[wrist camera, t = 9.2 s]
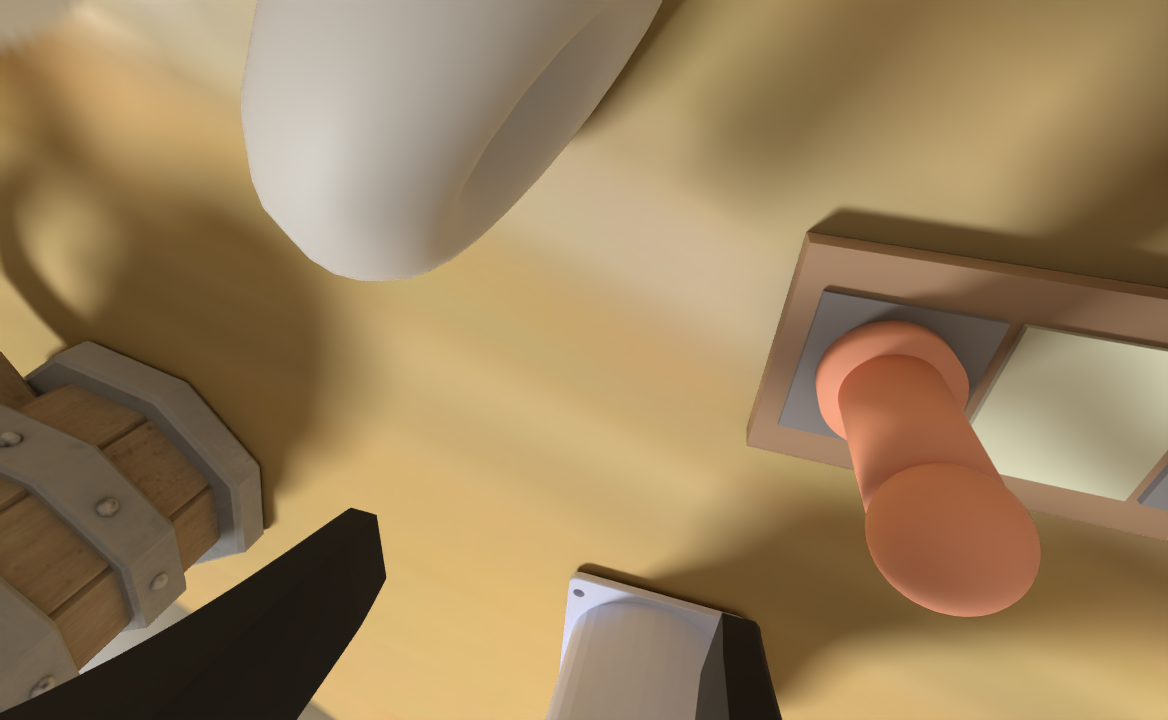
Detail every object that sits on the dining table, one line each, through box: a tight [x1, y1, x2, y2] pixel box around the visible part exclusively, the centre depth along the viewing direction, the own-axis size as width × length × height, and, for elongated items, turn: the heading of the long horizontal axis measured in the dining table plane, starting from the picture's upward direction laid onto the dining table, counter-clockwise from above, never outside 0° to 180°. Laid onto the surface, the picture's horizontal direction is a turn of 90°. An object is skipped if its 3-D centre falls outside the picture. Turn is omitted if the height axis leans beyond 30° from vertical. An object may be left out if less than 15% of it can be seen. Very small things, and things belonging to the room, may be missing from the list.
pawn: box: [815, 320, 1041, 617], centre depth 12 cm, size 4×4×7 cm
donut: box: [241, 0, 663, 281], centre depth 11 cm, size 10×4×10 cm, turn 141°
